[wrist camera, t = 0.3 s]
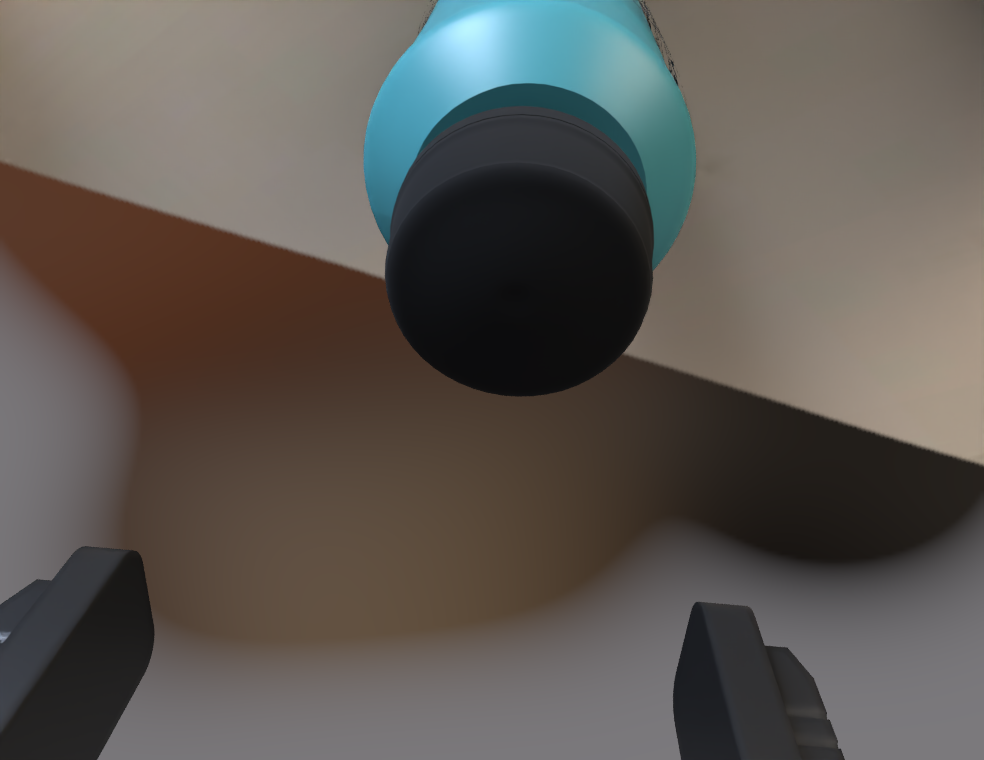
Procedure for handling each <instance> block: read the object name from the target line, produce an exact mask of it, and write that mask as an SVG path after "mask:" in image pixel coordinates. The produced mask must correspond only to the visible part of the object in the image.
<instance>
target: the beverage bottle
mask: <svg viewBox="0 0 984 760" xmlns="http://www.w3.org/2000/svg"><path fill="white" fill-rule="evenodd" d="M431 1H432V0H431ZM431 1H430V2H431ZM641 2H642V1H641ZM433 3H434V2H433ZM644 3H645V2H643V4H644ZM640 4H641V5H642V7H643V4H642V3H639V1H638V0H438V1H437V4H436V6H435V5H434V6H435V8H433V7H432V8H433V9H434V10H433V11H432V10H431V12H432V13H431V14H430V17H427V18H429V19H428V21H426V22H427V23H426V22H425V23H426V25H425V26H424V27H423V29H422V31H421V32H420V34H419V32H418V34H419V35H418V37H417V39H416V40H415V42H414V43H413V44H412V45H411V46H410V47H409V48H408V49H407V50H406V52H405V53H404V54H403V55H402V57H401V58H400V59H399V60H398V62H397V63H396V64H395V65H394V67H393V68H392V70H391V72H390V73H389V75H388V77H387V78H386V80H385V82H384V83H383V85H382V87H381V89H380V91H379V94H378V96H377V98H376V100H375V103H374V105H373V107H372V111H371V114H370V118H369V121H368V125H367V129H366V136H365V143H364V175H365V184H366V190H367V194H368V198H369V202H370V206H371V209H372V212H373V214H374V217H375V219H376V222H377V225H378V227H379V229H380V231H381V233H382V235H383V237H384V239H385V240H386V242H387V244H388V250H387V256H386V263H385V280H386V289H387V294H388V298H389V302H390V306H391V309H392V312H393V315H394V317H395V319H396V322H397V324H398V326H399V328H400V329H401V331H402V333H403V335H404V336H405V338H406V339H407V341H408V342H409V343H410V345H411V346H412V347H413V348H414V350H415V351H416V352H417V353H418V354H419V355H420V356H421V357H422V358H423V359H424V360H425V361H427V362H428V363H429V364H430V365H431V366H433V367H434V368H435V369H437V370H438V371H440V372H441V373H442V374H444V375H445V376H447V377H449V378H451V379H453V380H455V381H457V382H458V383H461V384H463V385H466V386H468V387H471V388H473V389H477V390H480V391H484V392H487V393H492V394H498V395H504V396H536V395H544V394H550V393H555V392H559V391H563V390H566V389H569V388H571V387H574V386H577V385H579V384H581V383H583V382H585V381H587V380H589V379H591V378H592V377H594V376H596V375H597V374H599V373H600V372H602V371H603V370H605V369H606V368H607V367H608V366H610V365H611V364H612V363H613V362H615V360H616V359H617V358H618V357H619V356H620V355H621V354H622V353H623V352H624V351H625V350H626V349H627V347H628V346H629V345H630V344H631V342H632V341H633V339H634V338H635V336H636V334H637V332H638V330H639V329H640V327H641V324H642V322H643V319H644V317H645V314H646V312H647V310H648V306H649V302H650V298H651V293H652V284H653V270H654V269H655V268H656V267H657V266H658V264H659V263H660V262H661V260H662V259H663V258H664V256H665V255H666V254H667V253H668V251H669V249H670V248H671V246H672V244H673V243H674V241H675V239H676V238H677V236H678V234H679V232H680V229H681V227H682V225H683V223H684V220H685V218H686V216H687V213H688V209H689V206H690V203H691V199H692V195H693V189H694V183H695V177H696V148H695V138H694V132H693V128H692V123H691V119H690V115H689V112H688V109H687V107H686V104H685V101H684V99H683V96H682V94H681V91H680V89H679V87H678V86H677V85H678V83H677V79H676V77H677V76H676V77H675V75H676V73H675V75H674V79H673V77H672V75H671V72H673V70H671V71H670V69H669V70H668V69H667V67H666V64H665V62H664V57H662V54H661V52H660V50H659V48H660V47H659V46H660V45H657V43H656V42H658V41H655V40H659V39H658V38H656V39H655V38H654V36H653V34H652V31H651V25H650V23H649V24H648V21H647V20H646V17H645V15H644V13H645V12H646V14H647V15H646V16H647V19H648V20H650V19H649V18H648V16H650V15H651V13H650V12H648V11H650V10H647V11H645V12H644V11H643V10H642V8H641V6H640ZM645 4H646V3H645ZM645 4H644V5H645ZM432 5H433V4H432ZM427 7H428V6H427ZM646 7H647V6H645V9H644V7H643V9H644V10H646V9H649V7H648V8H646ZM424 13H425V12H424ZM429 13H430V12H429ZM649 13H650V15H649ZM423 16H424V15H423ZM426 16H427V15H426ZM425 20H426V19H425ZM653 20H654V18H653ZM653 22H654V23H655V20H654V21H653ZM651 23H652V22H651ZM423 24H424V23H423ZM652 24H653V23H652ZM649 25H650V27H649ZM653 26H654V25H653ZM656 26H657V25H656V24H655V26H654V28H655V27H656ZM419 29H420V27H419ZM655 29H656V28H655ZM657 29H658V28H657ZM657 29H656V30H657ZM656 30H655V32H656ZM658 30H659V29H658ZM658 30H657V31H658ZM659 32H660V31H658V33H659ZM658 33H656V34H658ZM660 34H661V33H660ZM659 36H660V35H659ZM661 36H662V35H661ZM661 38H663V37H661ZM662 40H664V39H662ZM660 41H661V40H660ZM663 43H664V41H663ZM658 47H659V48H658ZM661 47H662V45H661ZM666 47H667V46H666ZM665 50H666V49H665ZM667 50H668V48H667ZM668 51H669V50H668ZM662 53H663V52H662ZM666 53H667V52H666ZM670 55H671V54H670ZM667 57H669V56H667ZM670 57H671V56H670ZM669 60H670V59H669ZM669 60H668V62H669ZM670 63H671V64H672V65H670ZM669 65H670V67H671V66H674V64H673V62H672V61H671V62H669ZM673 69H674V68H673ZM674 72H675V71H674ZM679 77H680V76H679ZM675 81H676V82H675ZM682 88H683V87H682Z"/></svg>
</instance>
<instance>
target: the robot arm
mask: <svg viewBox="0 0 984 760" xmlns="http://www.w3.org/2000/svg"><path fill="white" fill-rule="evenodd" d="M153 643H154V624H153V619H152V612H151V607H150V601H149V596H148V589H147V584H146V578H145V572H144V566H143V561H142V558H141V556H140V554H139V553H138V552H137V551H133V550H121V549H110V548H99V547H87V546H85V547H81V548H79V549H77V550H76V551H75V552H74V553H73V554H72V555H71V557H70V558H69V559H68V561H67V562H66V563H65V564H64V566H63V567H62V568H61V569H60V571H59V572H58V573H57V575H56V576H55V577H54V579H53V580H52V581H49V580H36V581H34V582H33V583H31V584H30V585H28V586H27V587H25V588H24V589H22V590H21V591H19V592H18V593H16V594H15V595H14V596H12V597H11V598H9V599H8V600H6V601H5V602H3V603H2V604H1V605H0V760H97V759H98V757H99V755H100V753H101V752H102V750H103V748H104V746H105V744H106V743H107V741H108V739H109V737H110V735H111V734H112V732H113V730H114V728H115V726H116V724H117V723H118V720H119V719H120V717H121V715H122V714H123V712H124V710H125V708H126V706H127V704H128V703H129V701H130V699H131V697H132V695H133V694H134V692H135V690H136V688H137V686H138V685H139V683H140V681H141V679H142V677H143V676H144V673H145V672H146V669H147V667H148V664H149V661H150V658H151V654H152V650H153ZM673 692H674V693H673V711H674V721H675V727H676V733H677V738H678V744H679V749H680V755H681V760H845V759H844V756H843V754H842V751H841V749H838V745H837V743H838V740H837V738H836V735H835V733H834V730H833V728H832V725H831V722H830V720H827V712H826V709H825V707H824V704H823V702H822V699H821V696H820V694H819V691H818V688H817V686H816V683H815V681H814V678H813V677H812V676H811V675H810V674H809V672H808V671H807V670H806V669H805V668H804V667H803V666H802V664H801V663H800V662H799V661H798V659H797V658H796V657H795V656H794V655H793V654H792V653H791V651H790V650H789V649H788V648H785V647H773V646H764V643H763V640H762V637H761V634H760V631H759V627H758V624H757V621H756V618H755V616H754V613H753V611H752V609H751V608H750V607H748V606H739V605H727V604H716V603H705V602H696V603H695V604H694V606H693V608H692V611H691V614H690V618H689V622H688V626H687V630H686V634H685V639H684V643H683V647H682V651H681V655H680V659H679V663H678V667H677V671H676V676H675V681H674V691H673Z"/></svg>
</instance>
